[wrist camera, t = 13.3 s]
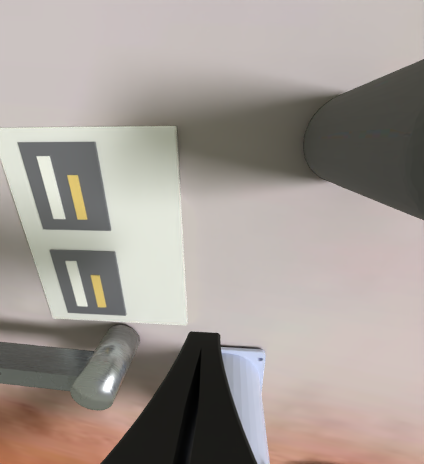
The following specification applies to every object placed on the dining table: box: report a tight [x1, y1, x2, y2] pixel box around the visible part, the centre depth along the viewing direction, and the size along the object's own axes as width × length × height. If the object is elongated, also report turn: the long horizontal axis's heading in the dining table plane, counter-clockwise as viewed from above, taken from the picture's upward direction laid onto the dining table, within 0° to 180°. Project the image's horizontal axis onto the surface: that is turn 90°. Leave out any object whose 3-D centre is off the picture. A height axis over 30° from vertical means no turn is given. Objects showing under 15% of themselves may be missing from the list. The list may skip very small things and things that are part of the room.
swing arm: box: [0, 325, 140, 410], centre depth 22 cm, size 23×4×6 cm, turn 87°
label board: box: [0, 126, 188, 325], centre depth 20 cm, size 18×14×1 cm
